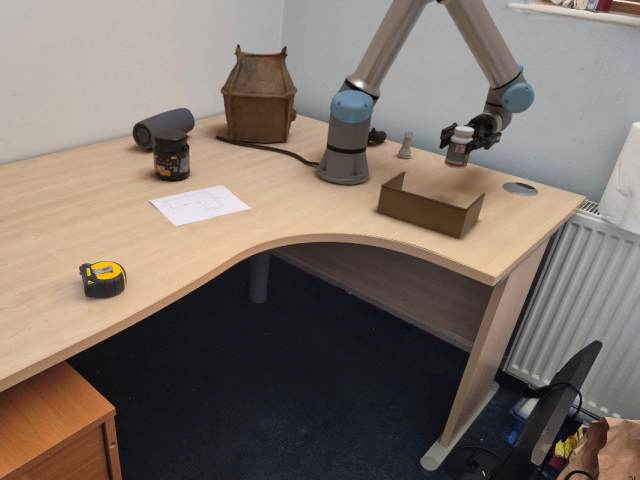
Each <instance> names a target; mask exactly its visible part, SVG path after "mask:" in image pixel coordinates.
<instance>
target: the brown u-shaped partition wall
mask: <svg viewBox="0 0 640 480" xmlns="http://www.w3.org/2000/svg"><path fill="white" fill-rule="evenodd" d="M405 175H406V171H401V172H400V173H398V174H397V175H395V176H393V177H392V178H390V179H389V180H387V181H385V182H384V183H382V184H380V185H381V186H380V191H379V198H378V203H377V209H376V213H378V214H383V215H386V216H388V217H392V218H395V219H398V220H401V221H405V222H408V223H410V224H414V225H417V226H419V227H423V228H426V229H429V230H432V231H434V232H438V233H442V234H445V235H447V236H451V237H454V238H457V239H461V238H462V237H463V236H464V235H465V234H466V233H467V232H468V231H469V230H470V229H471V228H472V227H473V226H474V225H475V224H476V223H477V222H478V220H479V218H480V217H479V216H480V214H481V210H482V207H483V204H484V200H485V197H486V193H484V192H483V193H481V194H480V195H479V196H478V197H477V198H476V199H475V200H474V201H473V202H472V203H470V204H469V205H468V206H467V207H466V208H465V207H463V206H459V205H456V204H451V203H448V202H445V201H441V200H438V199H435V198H432V197H431V198H430V197H427V196H425V195H421V194H417V193H414V192H411V191H407V190H404V189H403V185H404V181H405Z"/></svg>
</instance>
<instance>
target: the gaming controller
mask: <svg viewBox="0 0 640 480" xmlns="http://www.w3.org/2000/svg"><path fill="white" fill-rule="evenodd" d="M386 139H387V133H386V132H385V130H384V131H383V130H376V127H372V128H371V130H369V135H368V141H367V144H370V142H371V143H382V142H385V141H386Z"/></svg>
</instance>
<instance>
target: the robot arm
mask: <svg viewBox="0 0 640 480" xmlns="http://www.w3.org/2000/svg"><path fill="white" fill-rule="evenodd" d="M435 1H436V4H438V5H443V6H444V8H445V10H446V11H447V13H448V15H449V16H450V18H451V20H452V22H453V23H454V25H455V27H456V29H457V30H458V33H459V34H460V35H461V37H462V39H463V41H464V42H465V44H466V46H467V48H468V49H469V51H470V53H471V54H472V55H473V58H474V60H475V61H476V63H477V65H478V66H479V68H480V70H481V71H482V73H483V75H484V77H485V78H486V81H487V82H488V83H489V86H488V92H487V96H486V100H485V103H484V107H483V111H482V112H481V113H479V114H478V115H476V116H474V117H472V118H471V119H470V120H469V121H468V123H466V124H463V125H462V126H467V127H471V128H473V129H474V133H473V135H472V136H471V137H472V139H473V140H471V141H470V142H468V143H467V144H466V147H465V151H464V154H465V155H467V154H468V153H470V154H471V152H473V151H477V150H481V149H482V148H483V150H485V151H489V150H490V149H491V148H492V147H493V146H494V145H496V144H497V143H500V142H501V138H502V135H503V131H504V130H505V129H507V128H508V127H509V125H510V124H511V122H512V120H513V114H520V113H523V112H525V111H527V110H528V109H530V107H531V106H532V104H533V103H534V100H535V92H534V89H533V87H532V86H531V85H530V84H529V83H528V81H527V79H526V78H525V76H524V74H523V72H524V66H523V65H522V64H519V63H517V61H516V60H515V58H514V56H513V54H512V52H511V50H510V48H509V47H508V45H507V43H506V41H505V40H504V38H503V36H502V33H501V31H500V30H499V28H498V26H497V25H496V23H495V21H494V19H493V17H492V15H491V13H490V11H489V9H488V8H487V6H486V5H485V2H484V1H483V0H392V2H391V3H390V6H389V7H388V8H387V11H386V13H385V15H384V17H383V19H382V20H381V22H380V24H379V26H378V28H377V30H376V32H375V34H374V36H373V37H372V39H371V40H370V43H369V45H368V47H367V48H366V50H365V52H364V54H363V56H362V58H361V60H360V61H359V63H358V65H357V67H356V69H355V71H354V72H353V73H350V74H348V75H346V77H345V79H344V81H343V83H342V84H341V86H340V88H339V90H338V91H337V92H336V93H335V94H334V95H333V96H332V97H331V98H332V99H331V102H330V106H329V109H330V111H329V121H328V129H327V139H326V147H325V150H324V153H323V155H322V157H321V159H320V161H319V162H317V161H311V160H307V159H306V158H304V157H303V156H301V155H300V154H297V153H295V152H293V151H291V150H286V149H283V148H279V147H274V146H268V145H262V144H256V143H252V142H246V141H239V140H231V138H227V137H224V136H222V135H218V134H216V135H215V139H218V140H221V141H224V142H227V143H230V144H235V145H240V146H245V147H252V148H257V149H264V150H268V151H269V150H270V151H273V152H274V151H275V152H279V153H283V154H287V155H289V156H293V157H295V158H297V159H298V160H299V161H301V162H303V164H306V165H309V166H318V167H317V173H316V174H317V176H318V177H319V178H320V179H321V180H324V181H325V182H329V183H330V184H331V183H332V184H336V185H347V186H348V185H349V186H351V185H353V186H354V185H360V184H362V183H365V182H366V181H368V179H369V175H370V172H369V171H370V169H369V164H368V157H367V148H368V143H367V141H368V135H369V132H370V127H371V123H372V122H371V121H372V116H373V113H374V108H375V106H376V104H377V102H378V100H380V99H379V98H380V97H381V95H382V94H381V88H380V87H381V86H382V83H383V82H384V80H385V78H386V77H387V74H388V73H389V71H390V69H391V67H392V66H393V64H394V62H395V61H396V59H397V57H398V56H399V54H400V52H401V50H402V48H403V47H404V45H405V43H406V42H407V40H408V38H409V36H410V34H411V33H412V31H413V29H414V28H415V26H416V24H417V22H418V21H419V19H420V17H421V16H422V14H423V12H424V10H425V8H426V6H427V5H429V4H430V3H433V2H435ZM457 126H460V124H458V123H457V122H453V123H452V124H451V125H449V126H447V127H445V128H443V129H441V132H440V136H439V140H440V144H439V149H440V150H443V149H444V148H446V147H449V142H450V139H451V137H452V136H453V135H454V134H455V133H454V130H455V127H457Z"/></svg>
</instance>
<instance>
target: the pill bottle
mask: <svg viewBox="0 0 640 480" xmlns="http://www.w3.org/2000/svg"><path fill="white" fill-rule="evenodd" d="M454 133H455V134H454V135H453V136H452V137H451V139H450V142H449V145H448V146H447V151H446V155H445V158H444V165H445V166H446V167H448V168H450V169H455V170H463V169H466V168H467V166H468V163H469V159H470V154H471V152H470V153H468V154H467V155H465V154H464V151H465V147H466V144H467V143H468V142H470V141H471V140H473V139H472V137H471V136H472V135H473V133H474V129H473V128H471V127H467V126H463V125H459V126H457V127H455V130H454Z"/></svg>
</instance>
